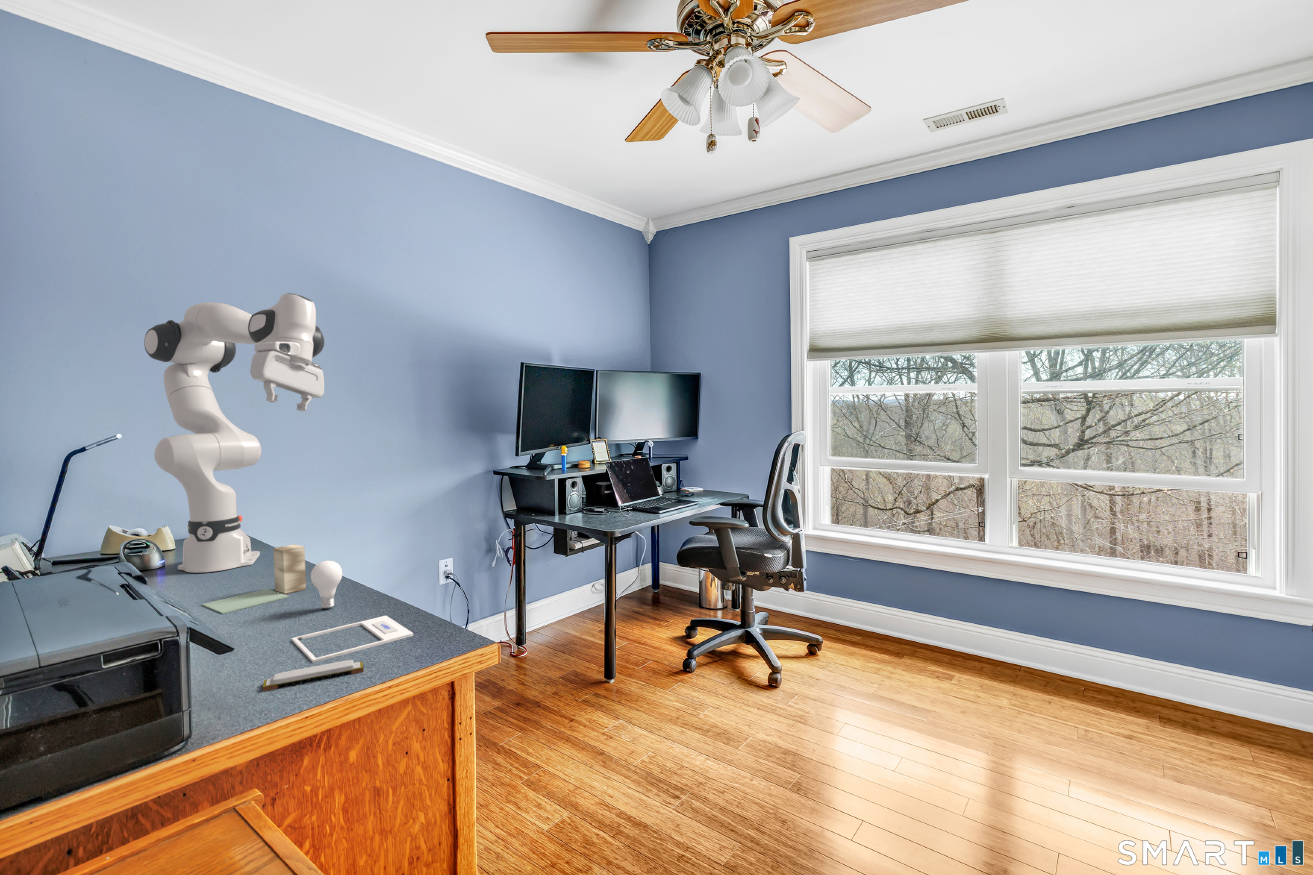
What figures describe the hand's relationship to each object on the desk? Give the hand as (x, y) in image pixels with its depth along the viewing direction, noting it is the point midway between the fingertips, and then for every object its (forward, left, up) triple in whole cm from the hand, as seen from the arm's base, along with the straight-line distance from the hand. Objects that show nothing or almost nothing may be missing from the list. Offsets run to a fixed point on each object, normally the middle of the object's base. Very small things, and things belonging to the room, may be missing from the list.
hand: (286, 406), depth 152 cm
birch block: (+4, 0, -46) cm, 46 cm away
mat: (+10, -7, -46) cm, 48 cm away
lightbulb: (+22, +13, -47) cm, 53 cm away
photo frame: (+43, +23, -47) cm, 68 cm away
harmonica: (+60, +21, -47) cm, 79 cm away
